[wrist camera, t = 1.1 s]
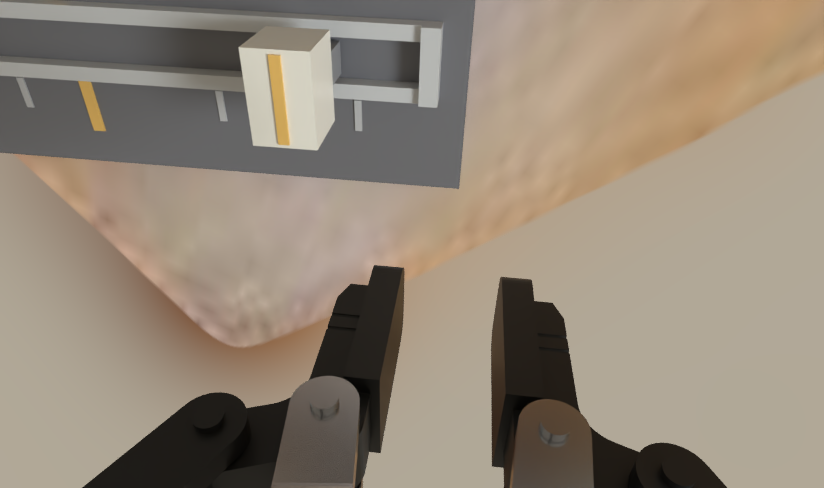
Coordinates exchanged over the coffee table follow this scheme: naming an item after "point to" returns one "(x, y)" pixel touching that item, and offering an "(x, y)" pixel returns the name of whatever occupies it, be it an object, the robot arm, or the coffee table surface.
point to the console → (234, 85)
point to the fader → (290, 85)
